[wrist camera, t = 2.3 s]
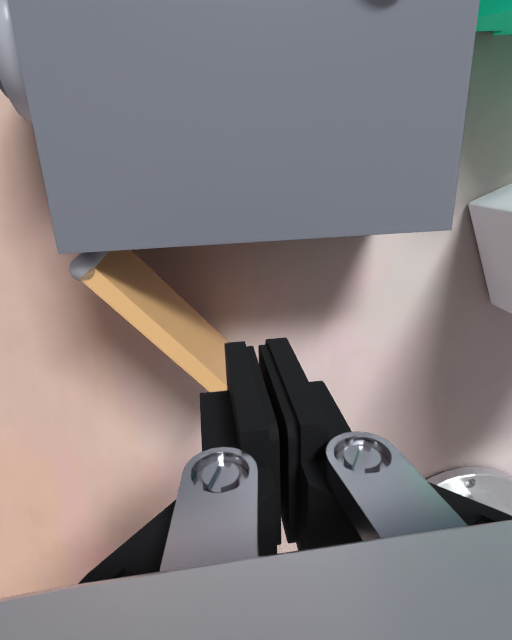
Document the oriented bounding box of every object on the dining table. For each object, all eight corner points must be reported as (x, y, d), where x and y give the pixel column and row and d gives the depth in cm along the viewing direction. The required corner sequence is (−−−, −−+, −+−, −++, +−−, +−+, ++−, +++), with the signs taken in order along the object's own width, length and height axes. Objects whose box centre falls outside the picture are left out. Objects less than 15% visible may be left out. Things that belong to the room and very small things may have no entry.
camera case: (378, 210, 26) (460, 236, 18) (68, 227, 24) (5, 265, 16) (394, -42, 22) (511, -156, 14) (17, -45, 20) (-104, -177, 12)
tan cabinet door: (215, 356, 28) (220, 413, 22) (92, 244, 24) (58, 275, 18) (231, 342, 27) (241, 396, 21) (109, 227, 24) (80, 252, 18)
